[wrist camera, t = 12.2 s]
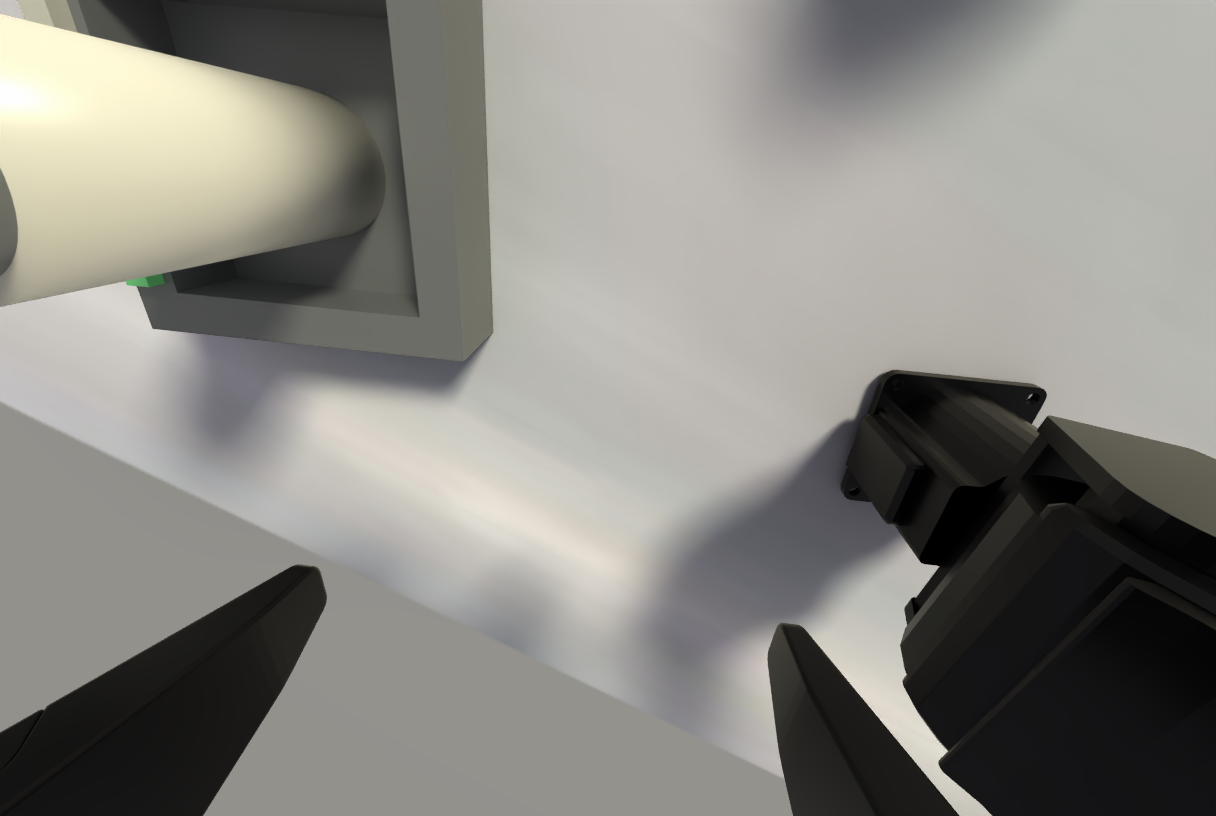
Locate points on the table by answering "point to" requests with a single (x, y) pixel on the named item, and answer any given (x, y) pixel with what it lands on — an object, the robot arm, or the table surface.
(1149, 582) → the robot arm
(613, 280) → the table surface
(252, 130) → the plug
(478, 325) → the dock
